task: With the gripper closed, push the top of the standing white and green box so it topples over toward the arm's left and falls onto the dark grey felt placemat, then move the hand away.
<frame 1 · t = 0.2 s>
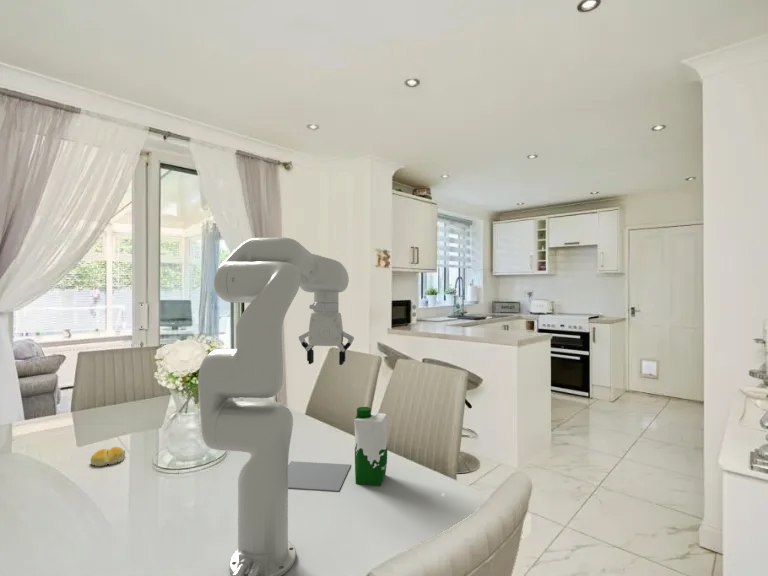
hand: (326, 363, 125), 31 cm above the table, tool pointing down, fingers open, 9 cm apart
placemat: (313, 475, 117), on the table
bread roll: (108, 462, 127), on the table
white and green box: (371, 480, 115), on the table
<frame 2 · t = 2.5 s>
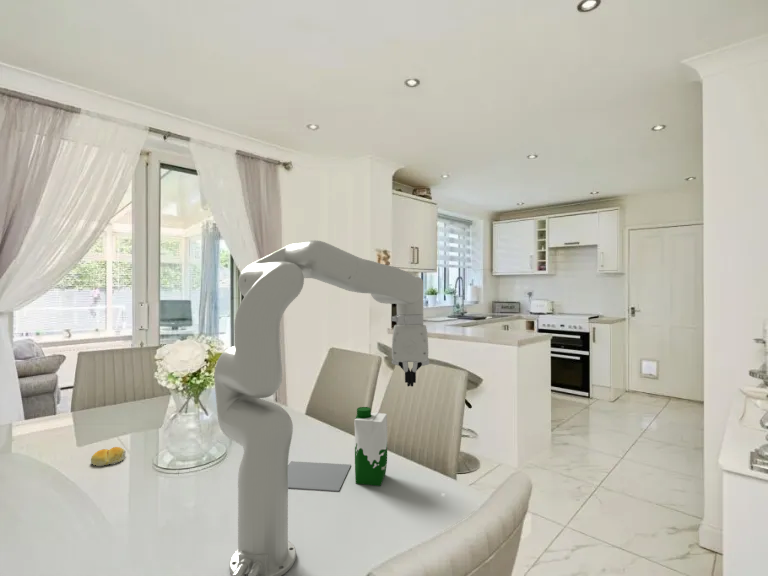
hand: (410, 385, 114), 27 cm above the table, tool pointing down, fingers closed
nothing on the table moved.
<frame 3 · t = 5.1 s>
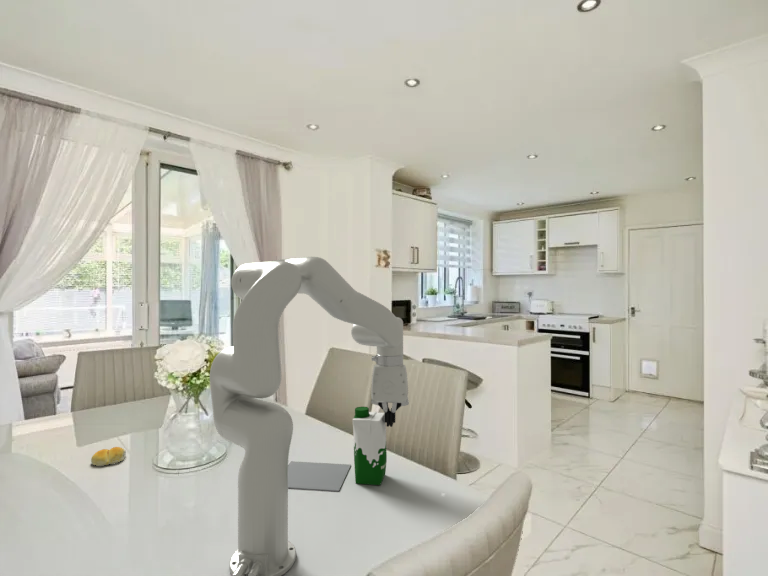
hand: (389, 425, 115), 16 cm above the table, tool pointing down, fingers closed
white and green box: (371, 479, 115), on the table, touching gripper
everything else where it was.
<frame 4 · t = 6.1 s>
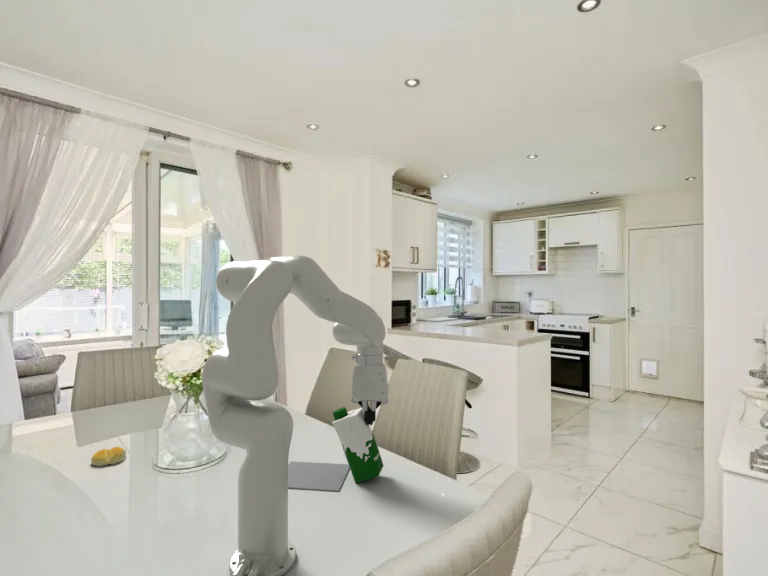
hand: (370, 423, 115), 16 cm above the table, tool pointing down, fingers closed
white and green box: (370, 475, 115), point 1 cm above the table, touching gripper
everything else where it was.
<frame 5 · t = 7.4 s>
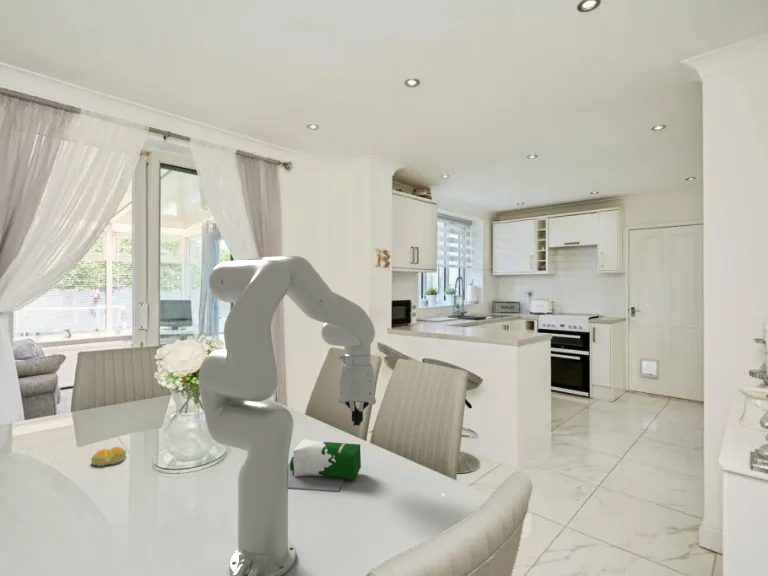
hand: (357, 424, 116), 16 cm above the table, tool pointing down, fingers closed
white and green box: (358, 461, 116), point 5 cm above the table, touching placemat
everything else where it was.
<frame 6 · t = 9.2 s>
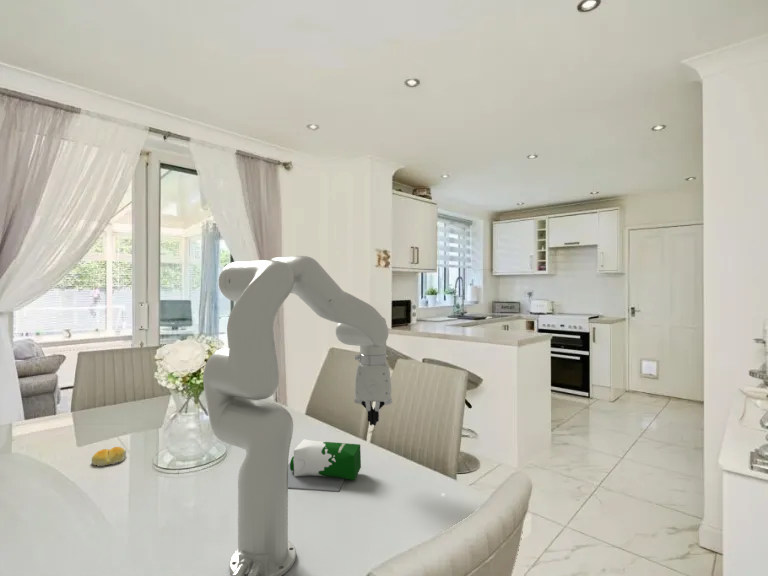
hand: (373, 423, 115), 16 cm above the table, tool pointing down, fingers closed
nothing on the table moved.
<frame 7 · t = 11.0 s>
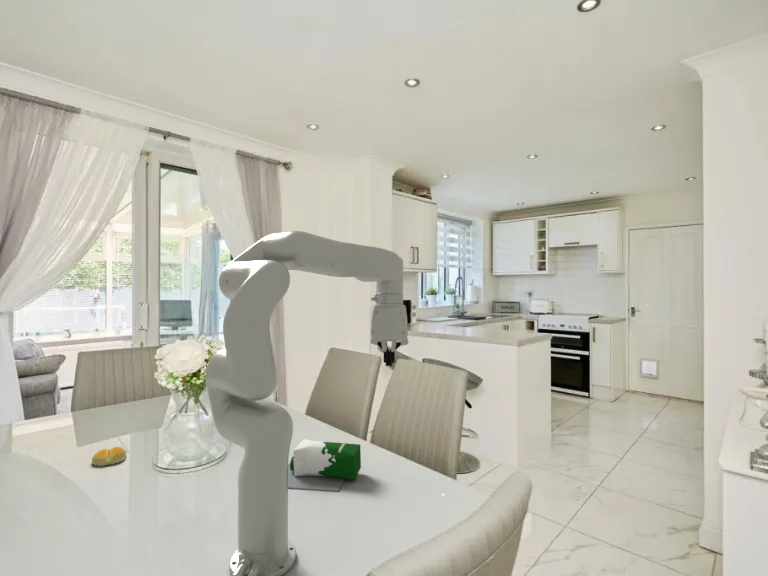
hand: (389, 365, 114), 33 cm above the table, tool pointing down, fingers closed
nothing on the table moved.
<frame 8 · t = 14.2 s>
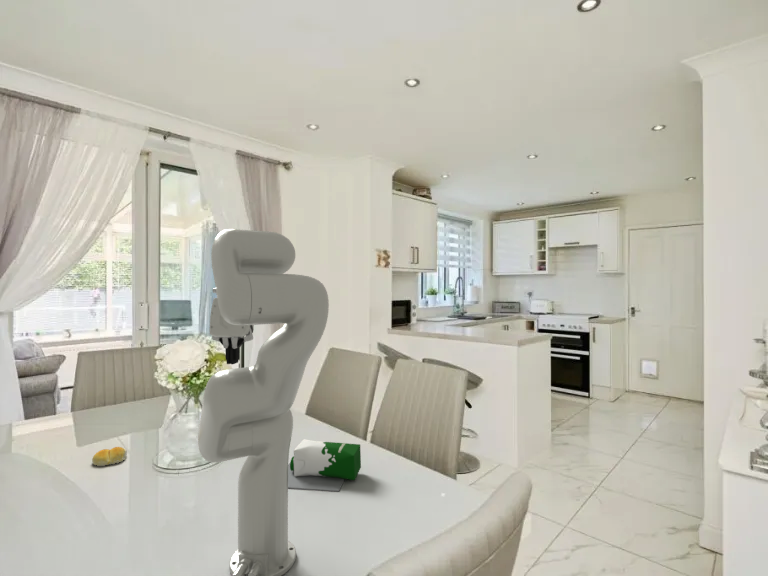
hand: (232, 363, 104), 35 cm above the table, tool pointing down, fingers closed
nothing on the table moved.
at the end: white and green box tilted 91°; white and green box inside the target area (3.3 cm from its centre), point 4.8 cm above the table; white and green box touching placemat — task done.
